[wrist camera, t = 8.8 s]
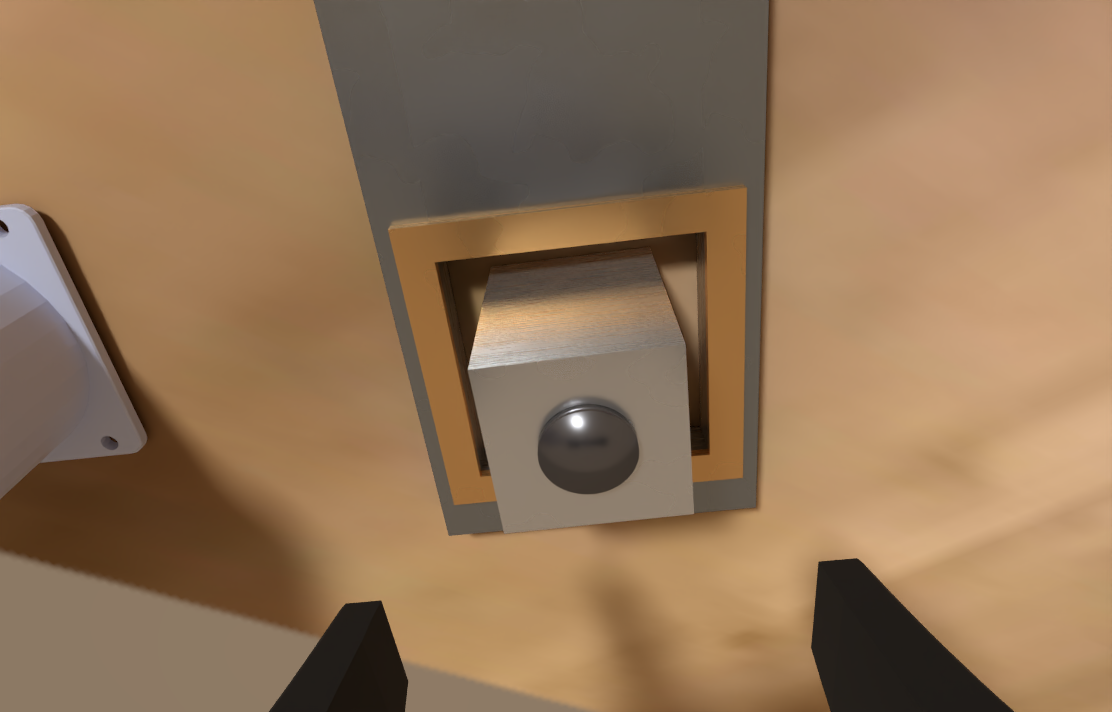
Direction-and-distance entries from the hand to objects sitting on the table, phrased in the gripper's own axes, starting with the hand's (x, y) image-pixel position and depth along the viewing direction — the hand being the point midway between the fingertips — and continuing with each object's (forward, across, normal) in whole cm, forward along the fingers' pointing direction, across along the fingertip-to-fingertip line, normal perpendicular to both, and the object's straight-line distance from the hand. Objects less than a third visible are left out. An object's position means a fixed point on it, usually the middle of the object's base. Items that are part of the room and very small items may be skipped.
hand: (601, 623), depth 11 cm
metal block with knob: (+10, 0, 0) cm, 10 cm away
